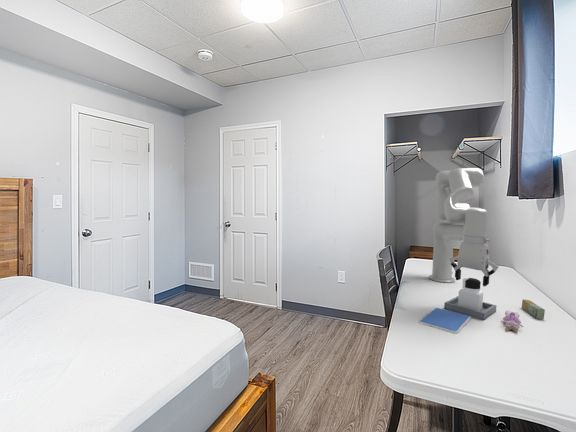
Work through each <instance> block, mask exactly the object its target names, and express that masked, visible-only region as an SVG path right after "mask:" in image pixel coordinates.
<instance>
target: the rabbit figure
mask: <svg viewBox="0 0 576 432" xmlns="http://www.w3.org/2000/svg"><path fill="white" fill-rule="evenodd" d="M504 314H505V316H504V317H503V318H502V319H503V320H501V321H500V323H505V326H504V327H505V331H506V332H510V331H513V332H514V331H515V332H514V333H515V334H516V333H517V334H519V327H522V328H524V325H523V324H522V321H521V319H520V313H519V312H518V311H511V310H505V312H504Z"/></svg>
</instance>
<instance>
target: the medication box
mask: <svg viewBox="0 0 576 432" xmlns="http://www.w3.org/2000/svg"><path fill="white" fill-rule="evenodd" d="M521 302H522V303H521V309H522V310H524V311H525V312H526V313H527V314H529V315H530V316H531V317H533V318H534V319H536V320H542V319H545V313H546V309H544V308H543V307H542V306H539V305H538V304H536V303H535V302H534V301H531V300H530V299H524V298H522V301H521Z"/></svg>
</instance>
